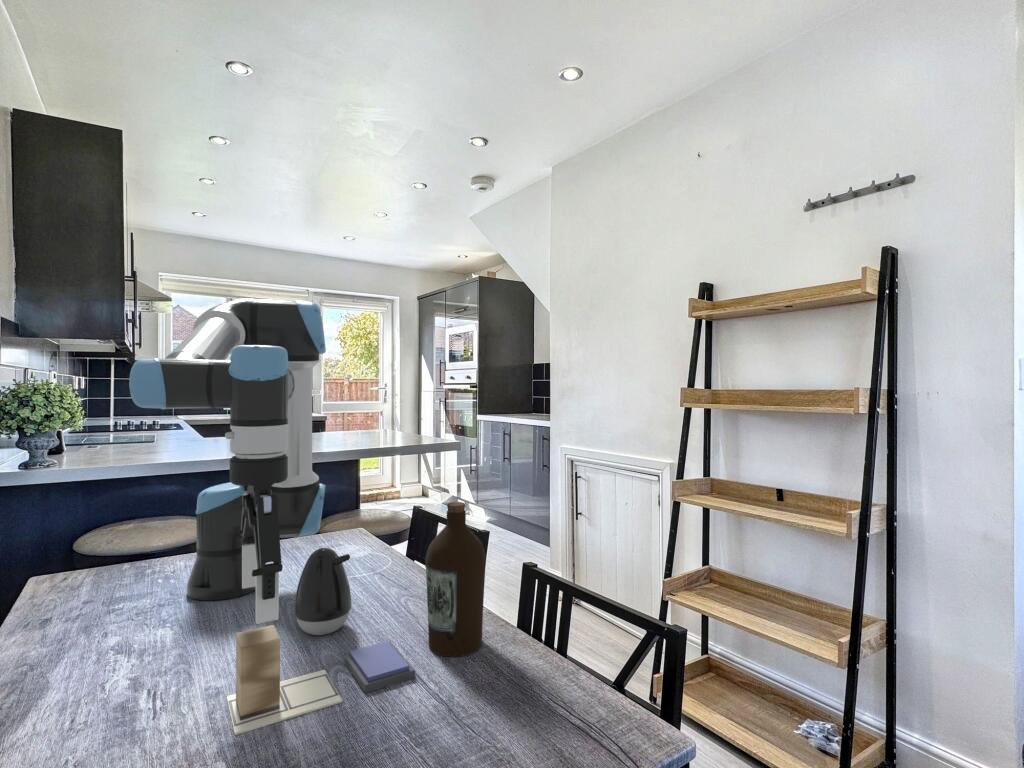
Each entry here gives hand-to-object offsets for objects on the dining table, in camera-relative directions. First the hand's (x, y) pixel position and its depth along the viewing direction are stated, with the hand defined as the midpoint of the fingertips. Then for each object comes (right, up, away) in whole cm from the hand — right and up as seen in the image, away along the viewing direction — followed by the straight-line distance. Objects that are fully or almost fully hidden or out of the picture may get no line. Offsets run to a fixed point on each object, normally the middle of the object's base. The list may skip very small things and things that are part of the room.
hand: (259, 602), depth 78 cm
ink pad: (+15, -15, +10) cm, 23 cm away
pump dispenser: (+1, -15, +25) cm, 29 cm away
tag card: (+3, -15, +2) cm, 15 cm away
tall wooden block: (0, -15, 0) cm, 15 cm away
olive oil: (+26, -15, +19) cm, 36 cm away
